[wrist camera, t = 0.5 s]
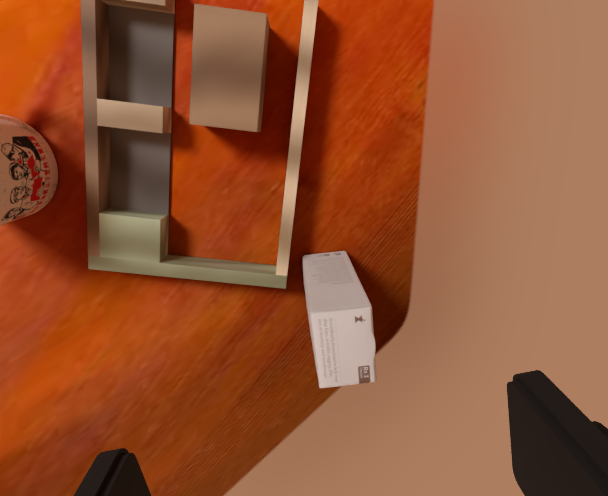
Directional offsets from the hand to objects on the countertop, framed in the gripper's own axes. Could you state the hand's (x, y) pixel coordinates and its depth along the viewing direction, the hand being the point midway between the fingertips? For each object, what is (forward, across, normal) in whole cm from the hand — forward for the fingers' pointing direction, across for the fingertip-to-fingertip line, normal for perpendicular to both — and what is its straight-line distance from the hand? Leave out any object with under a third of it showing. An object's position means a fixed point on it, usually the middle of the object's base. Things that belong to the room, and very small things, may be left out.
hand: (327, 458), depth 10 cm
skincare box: (+29, -1, +7) cm, 29 cm away
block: (+29, +3, -12) cm, 31 cm away
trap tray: (+28, +7, -8) cm, 30 cm away
